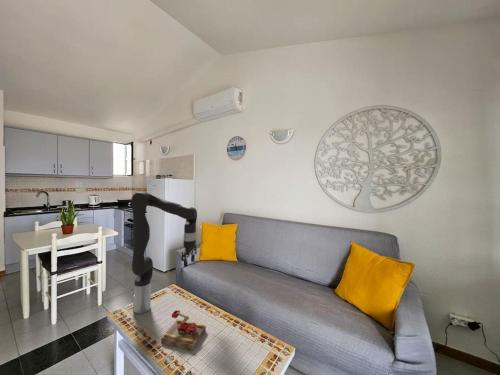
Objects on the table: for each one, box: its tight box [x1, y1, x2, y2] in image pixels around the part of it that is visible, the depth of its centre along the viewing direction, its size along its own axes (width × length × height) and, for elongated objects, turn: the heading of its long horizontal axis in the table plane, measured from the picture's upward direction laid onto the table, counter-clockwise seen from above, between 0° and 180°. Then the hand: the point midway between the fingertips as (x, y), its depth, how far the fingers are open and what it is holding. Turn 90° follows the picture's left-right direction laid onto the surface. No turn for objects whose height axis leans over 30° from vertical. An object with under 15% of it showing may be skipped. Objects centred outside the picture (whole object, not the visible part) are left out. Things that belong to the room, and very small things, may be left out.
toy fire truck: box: [171, 310, 197, 335], centre depth 110 cm, size 3×14×10 cm, turn 78°
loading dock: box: [160, 319, 207, 352], centre depth 110 cm, size 18×14×4 cm
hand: (189, 264), depth 132 cm, fingers open, 8 cm apart
